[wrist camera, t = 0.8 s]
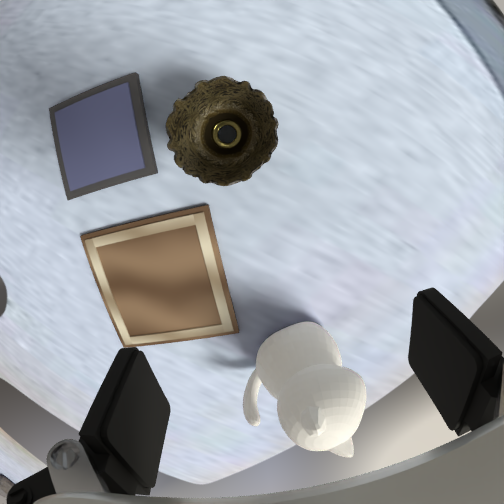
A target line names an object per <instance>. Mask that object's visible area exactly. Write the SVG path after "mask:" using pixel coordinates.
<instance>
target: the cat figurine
mask: <svg viewBox="0 0 504 504" xmlns="http://www.w3.org/2000/svg"><path fill="white" fill-rule="evenodd" d="M261 383H263V385H264V386H265V388H266V389H267V390H268V391H269V393H270V394H271V395H272V396H273V397H274V398H276V399H277V400H278V401H277V412H278V417H279V421H280V424H281V426H282V428H283V430H284V431H285V433H286V434H287V436H288V437H289V438H290V439H291V440H292V441H293V442H294V443H295V444H297V445H299V446H300V447H302V448H305V449H307V450H311V451H325V450H329V451H331V452H333V453H335V454H337V455H339V456H343V457H352V456H353V453H354V447H353V442H352V438H351V436H352V435H353V434H354V432H355V431H356V430H357V428H358V426H359V423H360V420H361V418H362V416H363V412H364V408H365V404H366V386H365V383H364V381H363V379H362V377H361V376H360V375H359V374H357V373H356V372H354V371H353V370H351V369H349V368H346V367H342V360H341V355H340V351H339V349H338V346H337V344H336V342H335V341H334V339H333V337H332V336H331V335H330V334H329V332H328V331H327V330H325V329H324V328H323V327H322V326H320V325H318V324H316V323H314V322H308V321H306V322H300V323H297V324H294V325H291V326H288V327H286V328H283V329H281V330H279V331H277V332H275V333H274V334H272V335H271V336H270V337H268V338H267V339H266V340H265V341H264V342H263V343H262V345H261V346H260V348H259V350H258V353H257V358H256V369H255V370H254V371H253V373H252V374H251V376H250V378H249V380H248V383H247V385H246V389H245V392H244V397H243V411H244V415H245V418H246V420H247V421H248V423H249V424H251V425H252V426H258V425H259V424H260V415H259V412H258V408H257V396H258V391H259V388H260V385H261Z"/></svg>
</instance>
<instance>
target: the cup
mask: <svg viewBox="0 0 504 504" xmlns="http://www.w3.org/2000/svg"><path fill="white" fill-rule="evenodd" d="M273 115H274V111H273V108H272V105H271V103H270V102H269V101H268V100H266V96H265V95H264V93H263V92H261V91H260V90H257V89H252V88H251V86H250V83H249V82H247V81H242V82H238V81H236V80H234V79H232V78H230V77H227V76H220V77H216V78H214V79H211V80H209V81H207V80H202V81H199V82H197V83H196V84H195V89H194V90H192V91H191V92H188V93H187V95H186V96H185V97H184V98H183V99H177V101H176V102H175V103H174V105H173V111H172V113H171V114H170V115H169V117H168V119H167V122H166V131H167V134H168V136H169V139H170V140H169V142H168V144H167V147H168V149H169V150H171V151H173V152H175V155H174V160H175V163H176V164H177V165H178V166H179V167H180V168H183V170H184V172H185V173H186V174H188V175H192V176H193V177H198V178H199V180H200V181H201V182H203V183H215V184H216V185H220V186H229V185H232V184H235V183H238V182H240V181H246V180H248V179H250V178H251V177H252V174H253V173H254V172H255V171H256V170H258V169H260V167H261V166H262V165H263V164H264V163H266V162H268V161H269V160H270V158H271V154H272V152H273V151H274V150H275V149H276V147H277V144H278V137H277V130H276V129H277V128H278V121H277V118H275V117H273ZM223 126H231V127H233V128H234V129H235V131H236V138H235V140H234V141H232V142H231V143H224V142H222V141H221V140H220V139H219V137H218V132H219V130H220V129H221V128H222V127H223Z"/></svg>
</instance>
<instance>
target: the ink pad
mask: <svg viewBox="0 0 504 504" xmlns="http://www.w3.org/2000/svg"><path fill="white" fill-rule="evenodd" d="M49 111H50V118H51V124H52V130H53V136H54V142H55V147H56V152H57V157H58V162H59V166H60V171H61V175H62V180H63V184H64V188H65V192H66V196H67V200H70V199H73V198H76V197H79V196H82V195H85V194H88V193H91V192H95V191H98V190H101V189H104V188H107V187H111V186H114V185H117V184H121V183H124V182H127V181H131V180H134V179H138V178H142V177H145V176H149V175H153V174H156V173H158V170H157V166H156V161H155V157H154V152H153V148H152V143H151V138H150V133H149V129H148V124H147V119H146V113H145V108H144V103H143V98H142V92H141V86H140V81H139V75H138V74H137V73H136V72H135V73H132V74H129V75H127V76H124V77H121V78H118V79H116V80H113V81H110V82H108V83H105V84H103V85H100V86H98V87H95V88H93V89H90V90H88V91H86V92H83V93H81V94H79V95H77V96H74V97H72V98H70V99H68V100H66V101H64V102H62V103H60V104H57V105H55V106H53V107H51V108H49Z"/></svg>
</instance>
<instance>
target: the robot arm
mask: <svg viewBox="0 0 504 504" xmlns="http://www.w3.org/2000/svg"><path fill="white" fill-rule="evenodd" d="M501 355H502V352H501V351H500V350H499V349H498V347H497V346H496V345H494V343H493V342H492V341H491V340H490V339H489V338H487V336H486V335H485V334H483V332H482V331H480V330H479V329H478V328H477V327H476V326H475V325H474V324H473V323H472V322H471V321H470V320H469V319H468V318H467V317H466V316H465V315H464V314H463V313H462V312H461V311H459V310H458V309H457V308H456V307H455V306H454V305H453V304H452V303H451V302H450V301H449V300H447V299H446V298H445V297H444V296H443V295H442V294H441V293H440V292H439V291H437V290H436V289H435V288H429V289H426V290H422V291H419V292H418V294H417V297H415V298H414V300H413V313H412V326H411V337H410V346H409V354H408V360H409V364H410V366H411V368H412V369H413V371H414V372H415V374H416V375H417V377H418V379H419V380H420V382H421V383H422V385H423V387H424V388H425V390H426V391H427V393H428V395H429V396H430V398H431V399H432V401H433V403H434V404H435V406H436V407H437V409H438V411H439V412H440V414H441V415H442V417H443V419H444V421H445V422H446V424H447V426H448V428H449V429H450V430H452V431H453V430H455V432H456V434H457V435H458V436H460V435H462V434H464V433H466V432H468V431H470V430H471V431H472V432H470V433H468V434H466V435H464V436H462V437H460V438H457V439H455V440H453V441H451V442H449V443H446V444H444V445H442V446H440V447H437V448H435V449H433V450H431V451H428V452H426V453H423V454H421V455H418V456H416V457H413V458H410V459H408V460H405V461H403V462H400V463H397V464H394V465H391V466H388V467H385V468H382V469H379V470H376V471H372V472H369V473H366V474H363V475H359V476H355V477H351V478H348V479H344V480H340V481H335V482H331V483H327V484H323V485H318V486H313V487H308V488H302V489H297V490H290V491H283V492H276V493H270V494H261V495H250V496H238V497H222V498H167V497H147V496H135V494H141V495H150V489H151V488H153V487H154V486H155V483H156V478H157V473H158V468H159V463H160V458H161V454H162V449H163V444H164V439H165V434H166V430H167V425H168V421H169V416H170V405H169V402H168V400H167V398H166V397H165V395H164V393H163V391H162V389H161V387H160V385H159V383H158V381H157V379H156V377H155V375H154V373H153V371H152V369H151V367H150V365H149V363H148V361H147V359H146V357H145V355H144V353H143V352H142V351H139V350H138V349H137V348H136V347H131V348H121V349H120V350H119V351H118V353H117V355H116V357H115V359H114V361H113V363H112V365H111V367H110V369H109V371H108V373H107V375H106V377H105V379H104V381H103V383H102V385H101V387H100V389H99V391H98V393H97V395H96V397H95V400H94V402H93V404H92V406H91V408H90V410H89V412H88V415H87V417H86V419H85V421H84V423H83V425H82V428H81V430H80V432H79V435H80V439H79V441H76V440H73V439H65V440H62V441H60V442H58V443H56V444H55V445H54V446H53V447H52V448H51V449H50V451H49V453H48V455H47V466H48V467H46V468H45V469H43V470H41V471H39V472H37V473H35V474H34V475H32V476H30V477H28V478H26V479H24V480H22V481H20V482H18V483H16V484H15V485H14V486H12V488H11V489H10V490H9V492H8V494H7V504H504V358H503V357H502V356H501Z"/></svg>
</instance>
